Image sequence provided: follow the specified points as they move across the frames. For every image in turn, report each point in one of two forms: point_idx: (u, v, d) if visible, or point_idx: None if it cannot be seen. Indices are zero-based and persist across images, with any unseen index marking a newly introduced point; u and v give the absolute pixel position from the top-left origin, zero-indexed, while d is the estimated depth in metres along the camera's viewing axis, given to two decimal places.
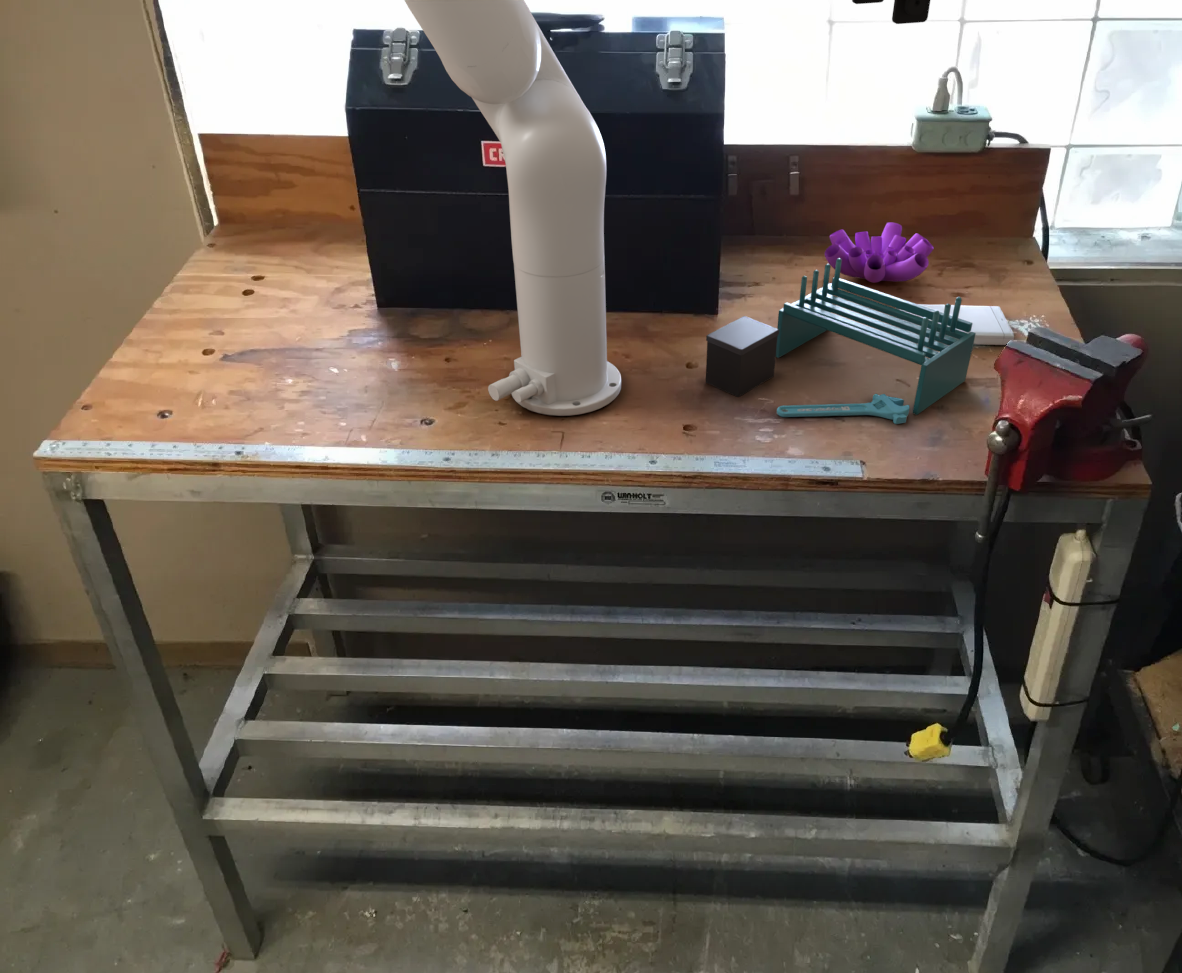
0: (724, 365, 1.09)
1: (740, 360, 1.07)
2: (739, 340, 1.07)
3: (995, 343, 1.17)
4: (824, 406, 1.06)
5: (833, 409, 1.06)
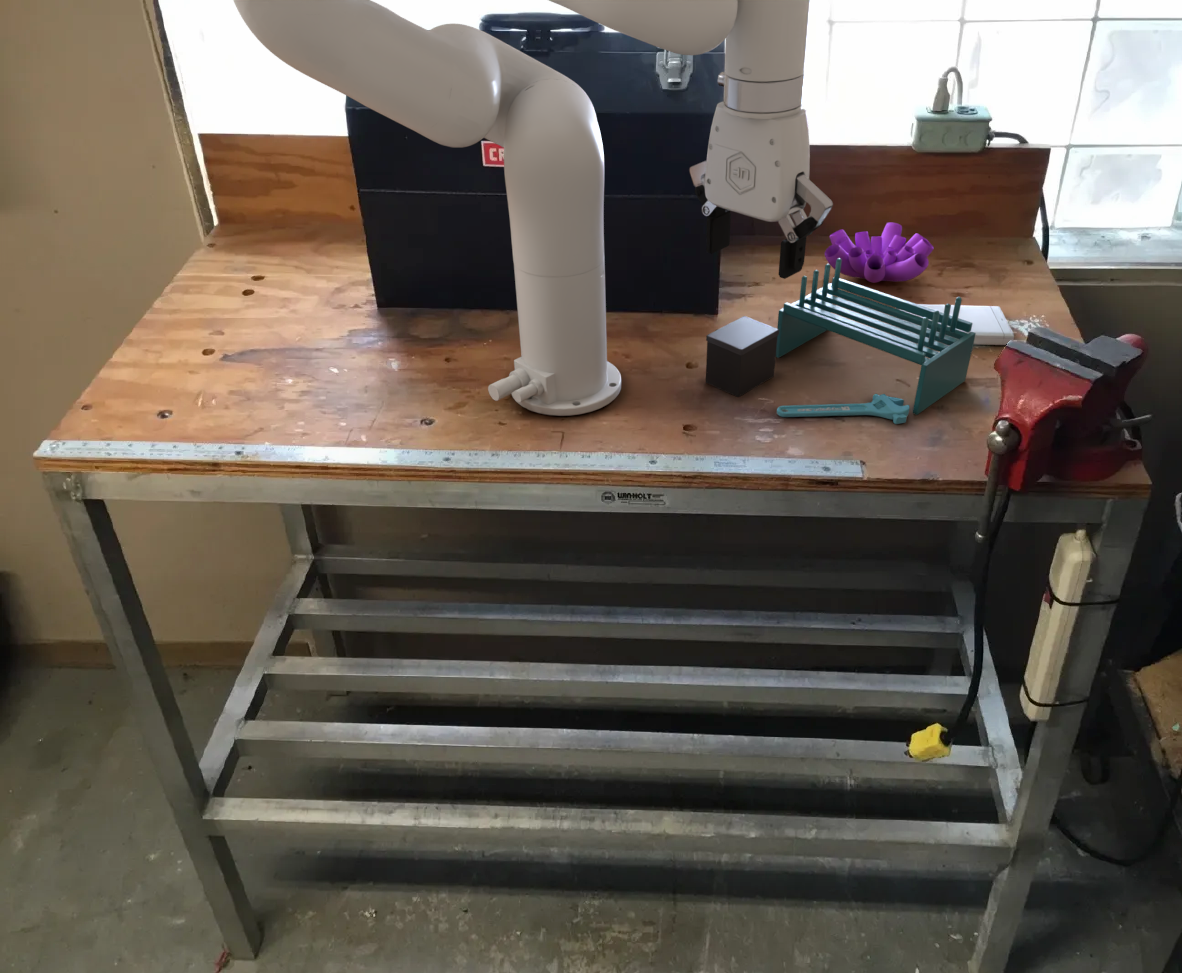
0: (724, 365, 1.09)
1: (740, 360, 1.07)
2: (739, 340, 1.07)
3: (995, 343, 1.17)
4: (824, 406, 1.06)
5: (833, 409, 1.06)
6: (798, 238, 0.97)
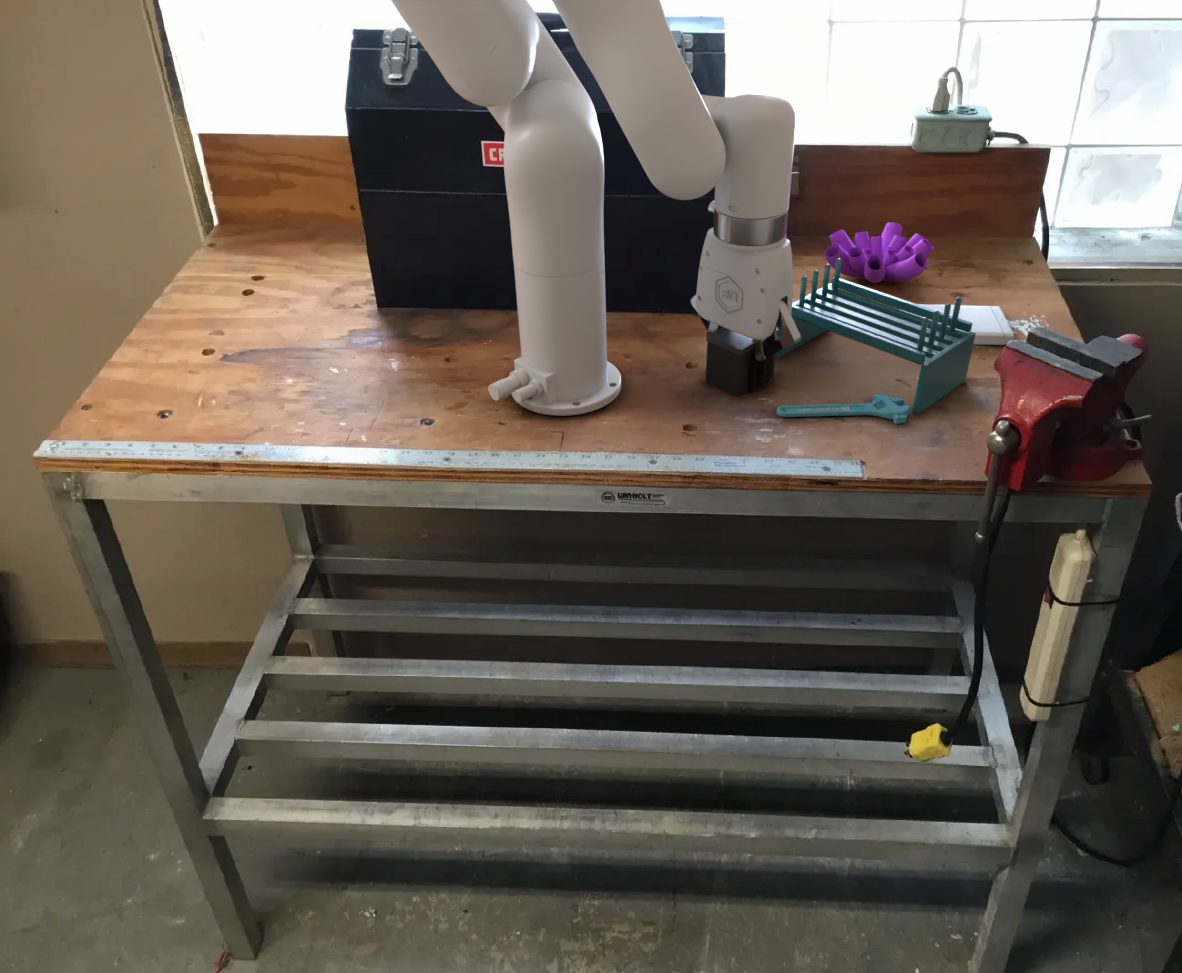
0: (724, 365, 1.09)
1: (740, 360, 1.07)
2: (739, 340, 1.07)
3: (995, 343, 1.17)
4: (824, 406, 1.06)
5: (833, 409, 1.06)
6: (765, 358, 1.07)
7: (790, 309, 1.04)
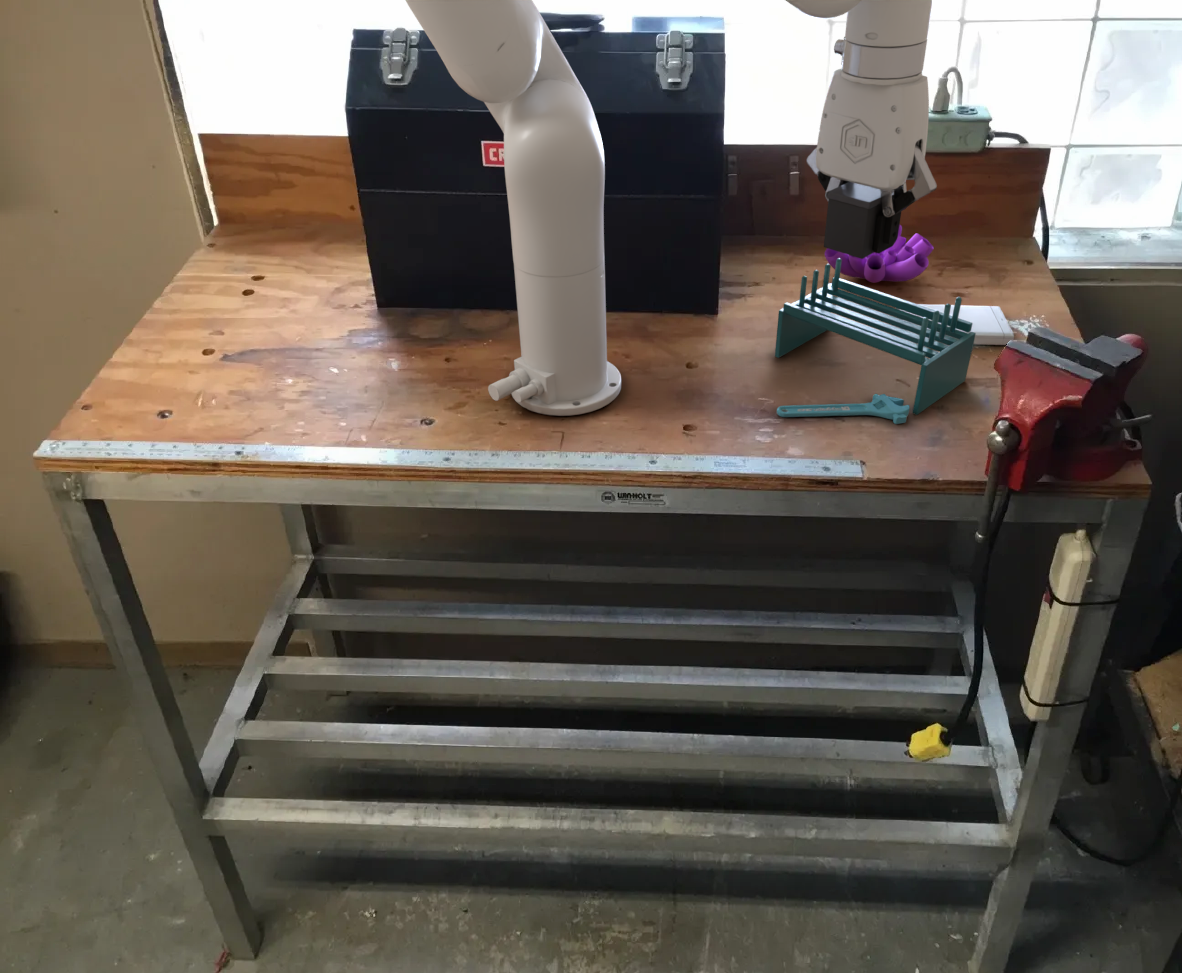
0: (848, 223, 1.00)
1: (867, 215, 0.98)
2: (865, 194, 0.99)
3: (995, 343, 1.17)
4: (824, 406, 1.06)
5: (833, 409, 1.06)
6: (894, 212, 0.99)
7: (924, 156, 0.96)
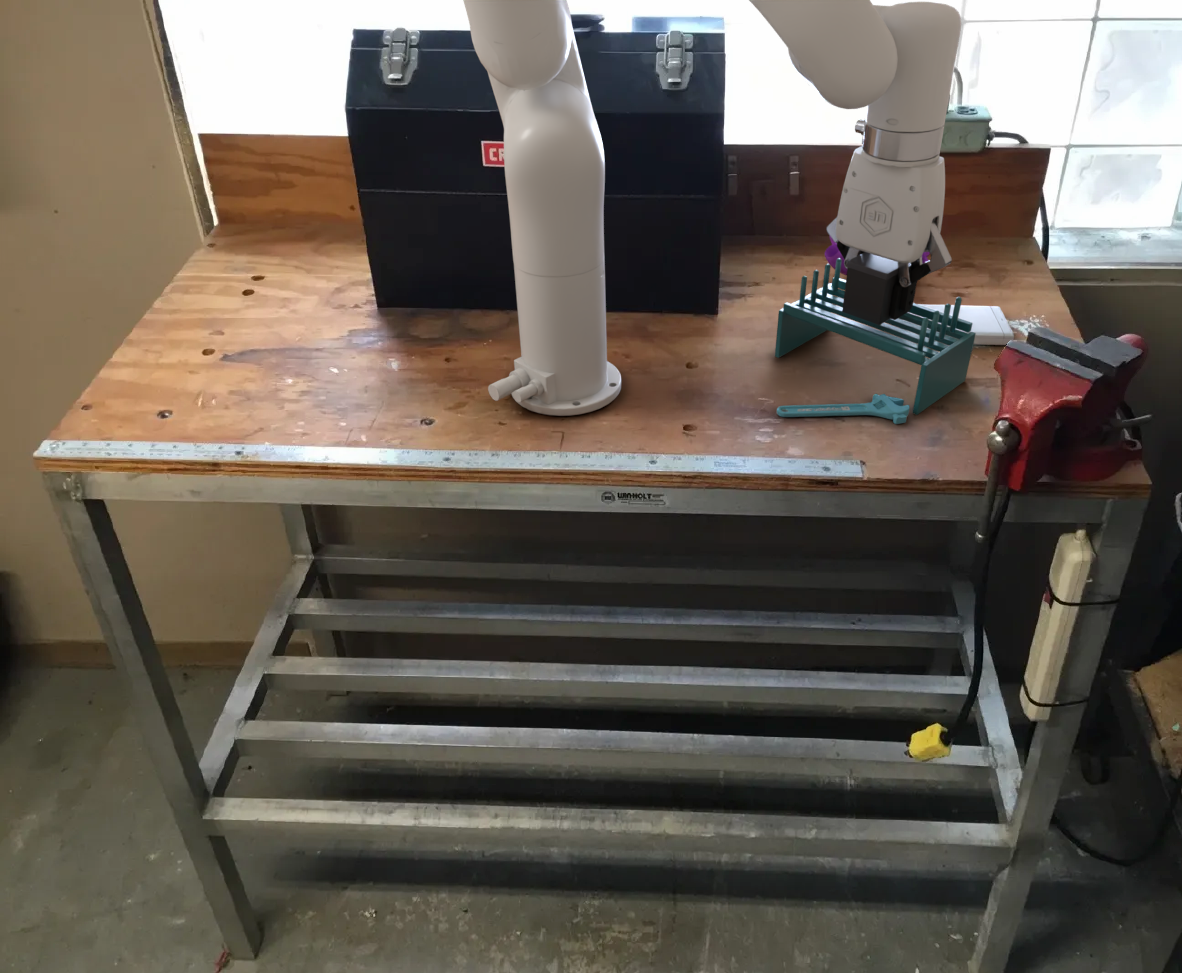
0: (866, 291, 1.05)
1: (885, 285, 1.03)
2: (883, 265, 1.04)
3: (995, 343, 1.17)
4: (824, 406, 1.06)
5: (833, 409, 1.06)
6: (911, 283, 1.04)
7: (939, 231, 1.01)
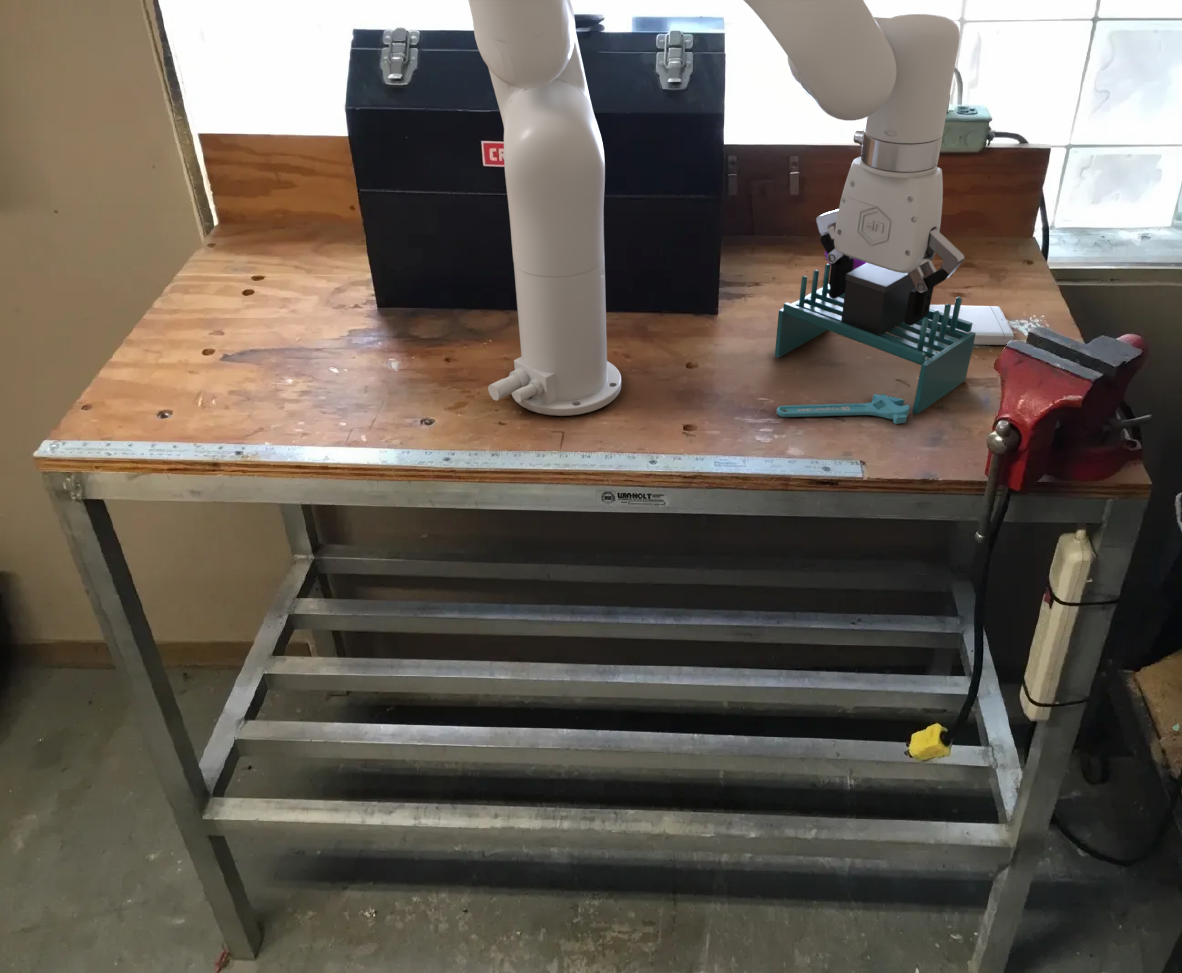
0: (865, 304, 1.06)
1: (884, 298, 1.04)
2: (881, 278, 1.05)
3: (995, 343, 1.17)
4: (824, 406, 1.06)
5: (833, 409, 1.06)
6: (927, 288, 1.02)
7: None
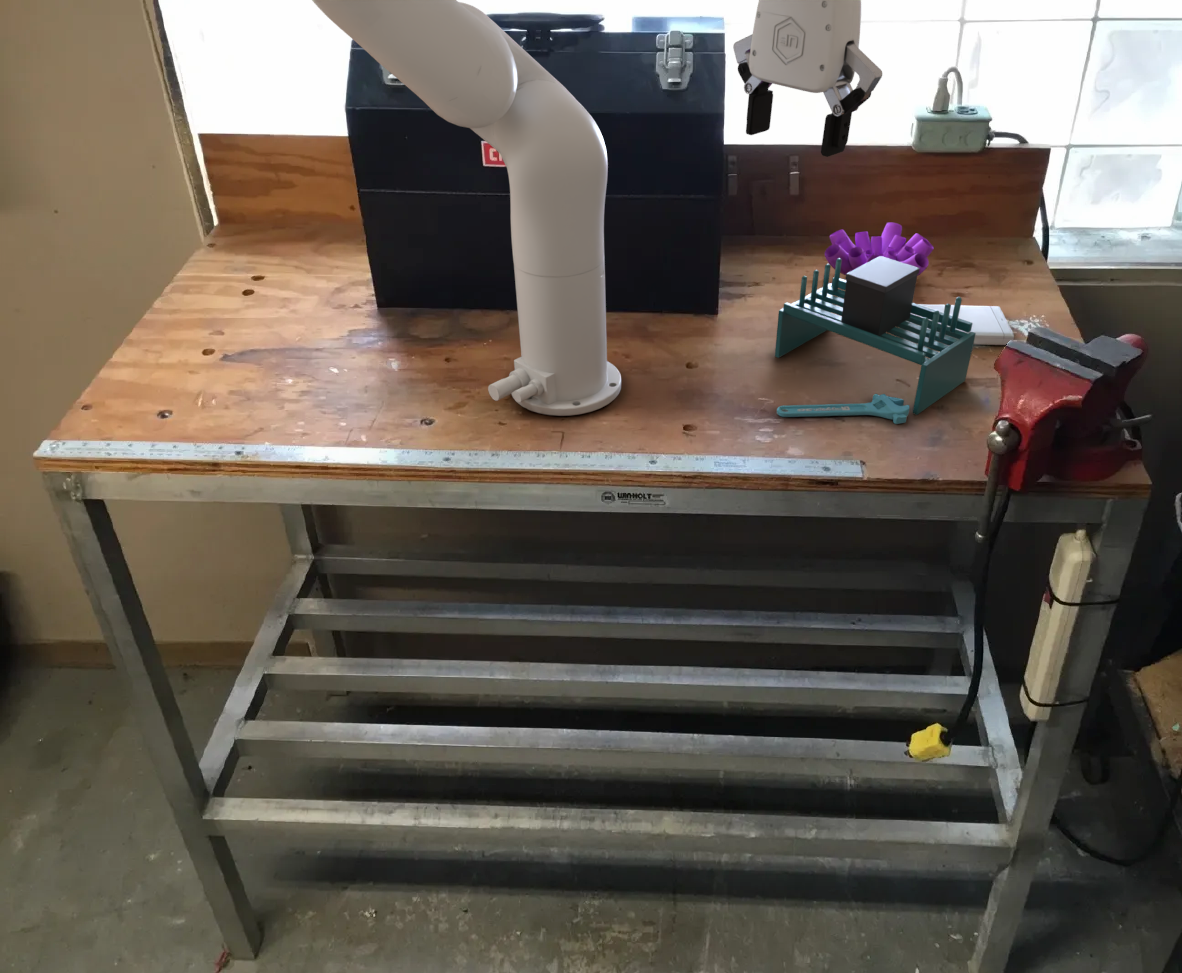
0: (865, 304, 1.06)
1: (884, 298, 1.04)
2: (881, 278, 1.05)
3: (995, 343, 1.17)
4: (824, 406, 1.06)
5: (833, 409, 1.05)
6: (844, 111, 0.95)
7: None
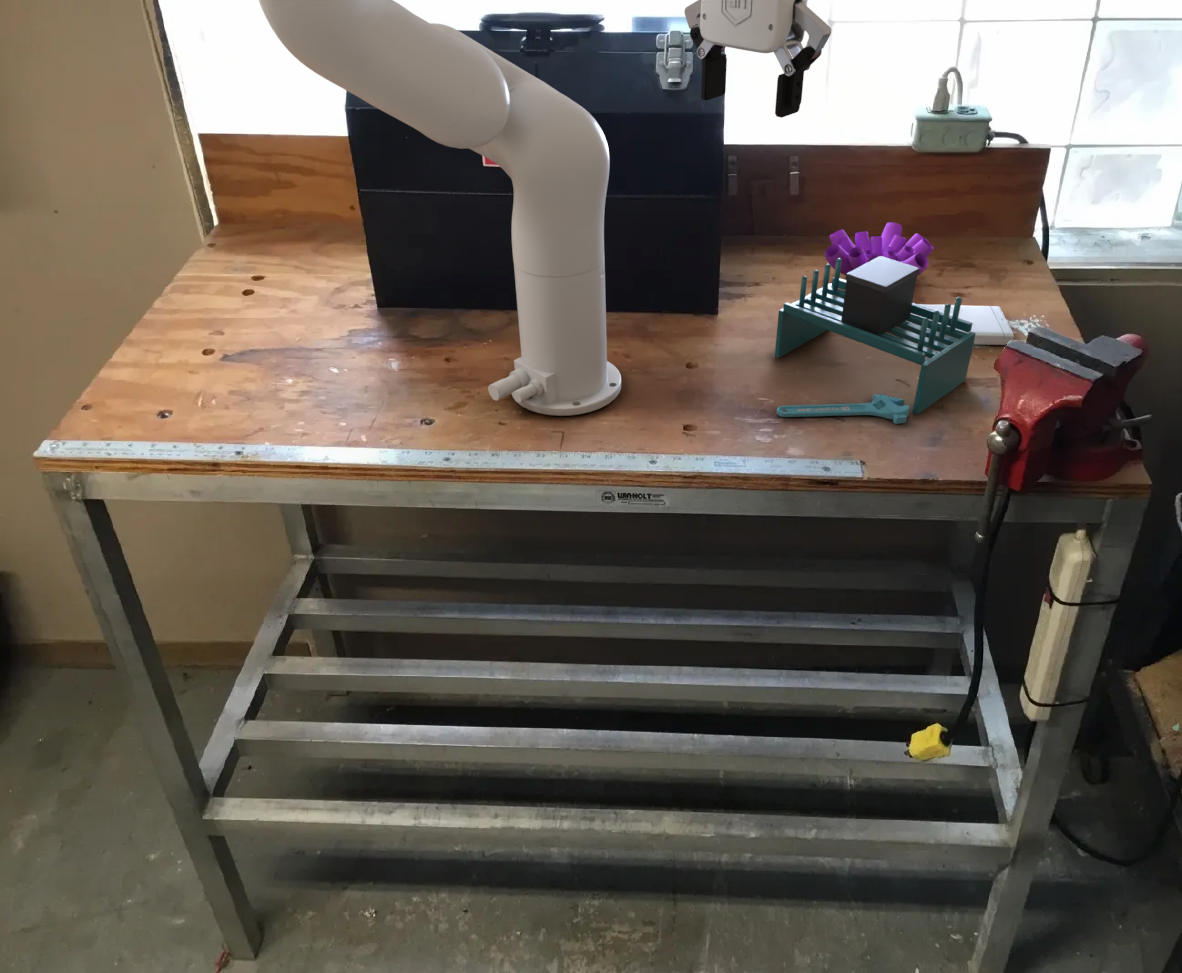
0: (865, 304, 1.06)
1: (884, 298, 1.04)
2: (881, 278, 1.05)
3: (995, 343, 1.17)
4: (824, 406, 1.06)
5: (833, 409, 1.06)
6: (795, 70, 0.95)
7: None
